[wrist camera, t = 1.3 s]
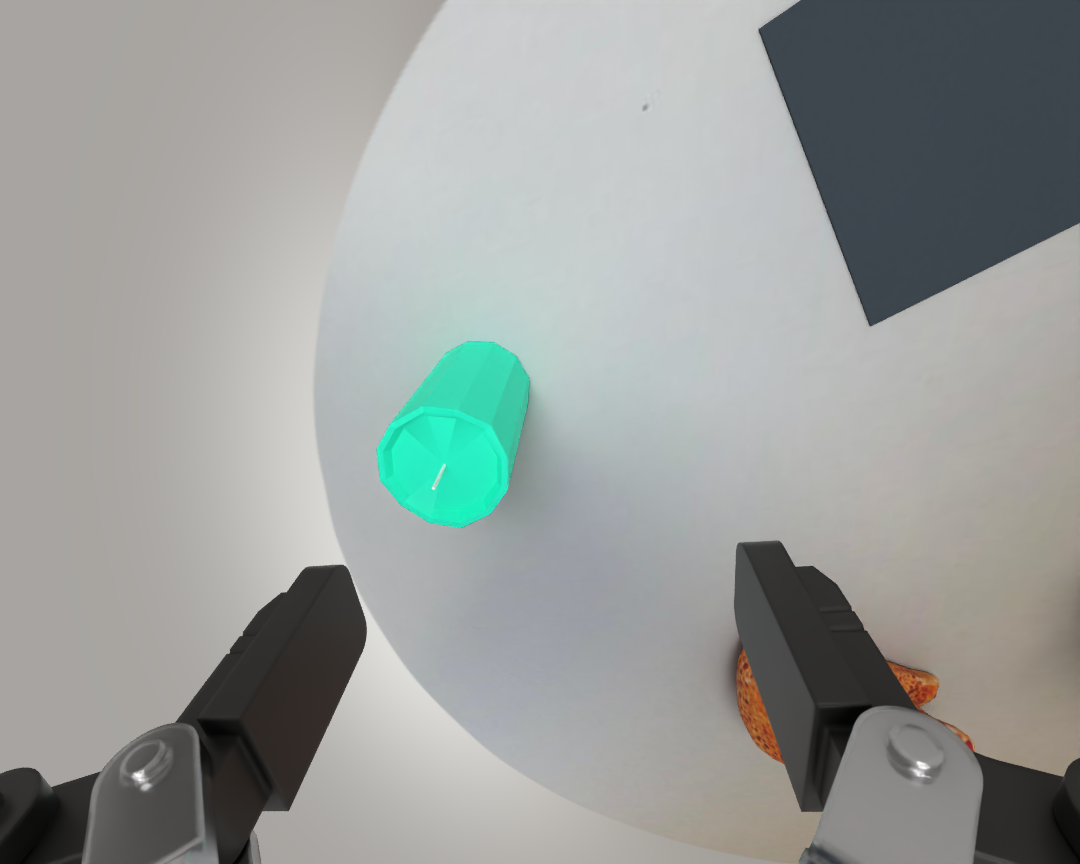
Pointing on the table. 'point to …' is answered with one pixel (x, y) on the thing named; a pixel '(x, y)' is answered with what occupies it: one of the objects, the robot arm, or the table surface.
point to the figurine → (758, 725)
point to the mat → (934, 132)
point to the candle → (457, 436)
